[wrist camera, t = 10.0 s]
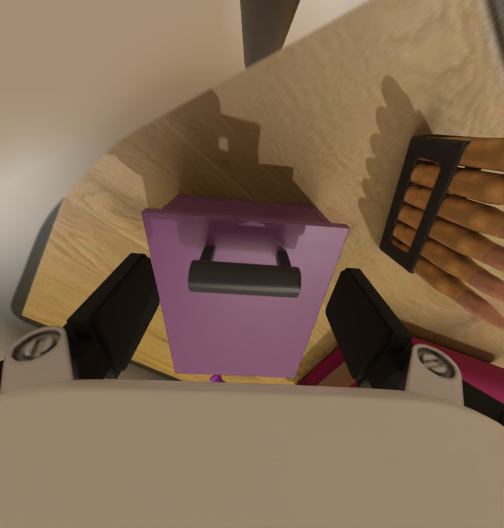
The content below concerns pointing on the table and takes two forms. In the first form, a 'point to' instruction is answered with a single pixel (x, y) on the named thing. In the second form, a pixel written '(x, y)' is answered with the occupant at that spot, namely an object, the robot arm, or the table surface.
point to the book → (472, 370)
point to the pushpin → (216, 378)
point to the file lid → (240, 288)
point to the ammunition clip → (451, 218)
